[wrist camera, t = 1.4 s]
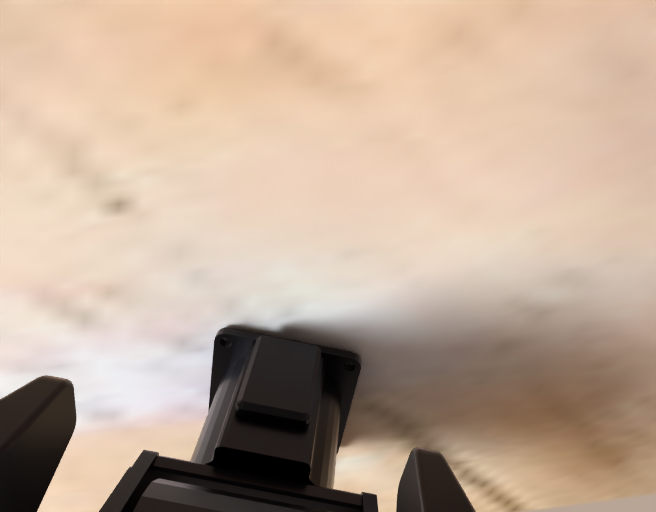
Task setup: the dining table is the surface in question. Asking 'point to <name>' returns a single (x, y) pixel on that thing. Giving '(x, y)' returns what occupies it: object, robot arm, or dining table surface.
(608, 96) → the dining table surface
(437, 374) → the dining table surface
